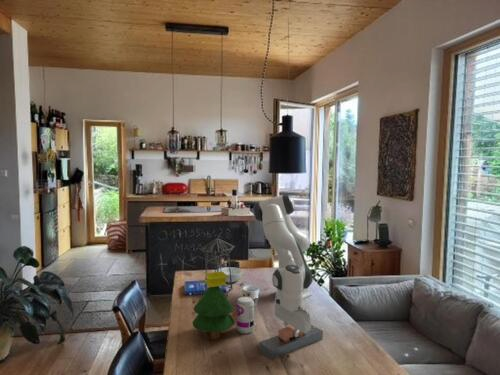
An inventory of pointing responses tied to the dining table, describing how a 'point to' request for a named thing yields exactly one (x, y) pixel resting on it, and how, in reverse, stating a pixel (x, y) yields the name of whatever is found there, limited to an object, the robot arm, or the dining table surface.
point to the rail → (289, 343)
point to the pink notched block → (288, 333)
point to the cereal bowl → (232, 274)
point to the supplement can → (245, 315)
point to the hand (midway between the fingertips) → (291, 333)
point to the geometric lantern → (218, 258)
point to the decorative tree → (213, 307)
